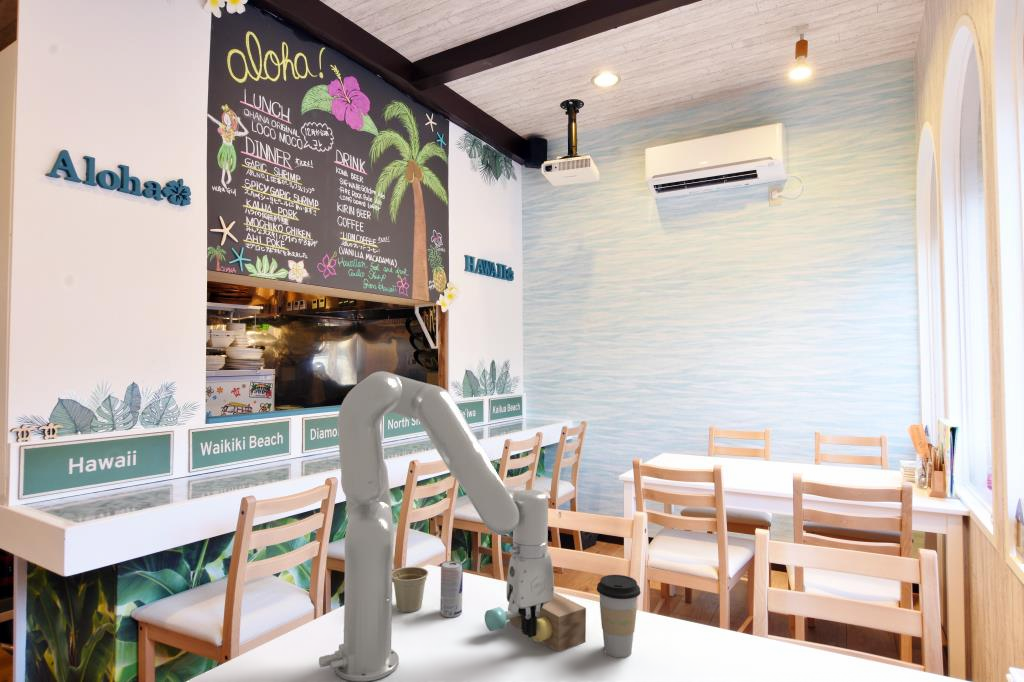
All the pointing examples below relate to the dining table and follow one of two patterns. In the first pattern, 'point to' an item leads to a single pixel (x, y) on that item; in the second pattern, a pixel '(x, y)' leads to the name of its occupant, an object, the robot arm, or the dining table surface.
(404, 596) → the flower pot
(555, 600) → the block
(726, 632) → the dining table surface
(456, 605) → the energy drink
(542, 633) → the knob
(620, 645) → the coffee cup
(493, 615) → the knob
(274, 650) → the dining table surface
